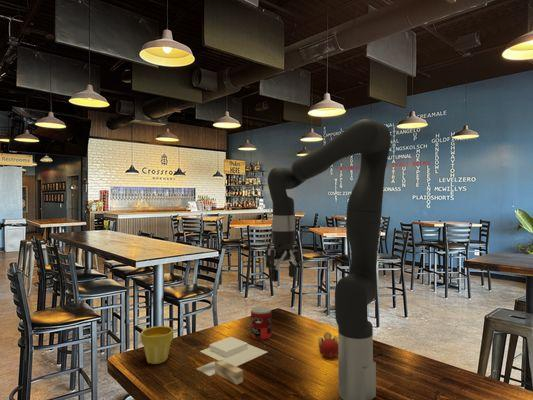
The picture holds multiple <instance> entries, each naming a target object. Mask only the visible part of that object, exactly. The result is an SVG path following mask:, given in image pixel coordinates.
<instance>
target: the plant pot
mask: <svg viewBox="0 0 533 400" xmlns="http://www.w3.org/2000/svg"><path fill="white" fill-rule="evenodd" d="M173 341H174V329H173V327H170V326H165V325H159V326H158V325H157V326H151V327H148V328H145V329H143V330H142V331H141V332H140V343H141V345H143V350H144V355H145V358H146V362H147V363H148V364H150V363H151V364H150V365H159V364H162V363H165V362H166V361H167V360H168V357H169V353H170V348H171V342H173Z"/></svg>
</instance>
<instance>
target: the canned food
mask: <svg viewBox="0 0 533 400" xmlns="http://www.w3.org/2000/svg"><path fill="white" fill-rule="evenodd" d="M250 336H251V338H252V339H254V340H258V341H262V340H263V341H264V340H268V339H270V338H271V337H272V308H270V307H269V306H254V307H252V308H251V309H250Z"/></svg>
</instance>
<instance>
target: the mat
mask: <svg viewBox="0 0 533 400" xmlns="http://www.w3.org/2000/svg"><path fill="white" fill-rule="evenodd" d="M199 352H200V353H202V354H204V355H206V356H208V357H210V358H213V359H214V360H217V361H219V360H223V361H225V362H227V363H229V364H231V365H234V366H236V367H238V366H241V365H243V364H245V363H247V362H249V361H252V360H254V359H255V358H258V357H260V356H263V355H264V354H268V351H267V350H263V349H261V348H259V347H256V346H254V345H251V344H249V343H248V349H246V350H243V351H241V352H239V353H236V354H234V355H232V356H229V357H227V358H226V357H223V356H221V355H219V354H217V353H215V352H213V351H211V350H210V347H208V348H205V349H203V350H200V351H199Z"/></svg>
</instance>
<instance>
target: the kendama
mask: <svg viewBox="0 0 533 400" xmlns="http://www.w3.org/2000/svg"><path fill="white" fill-rule="evenodd" d="M317 340H318V348H319V352H320V353H322V355H323V356H324V357H326V358H329V359H331V358H334V357H336V356H337V355H338V336H333V338H332V334H331V333H330V332H329V331H326V332H324V334H323V337H322V336H321V337H318V338H317Z"/></svg>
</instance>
